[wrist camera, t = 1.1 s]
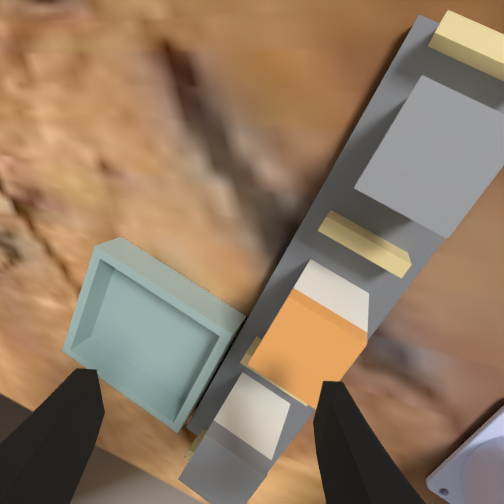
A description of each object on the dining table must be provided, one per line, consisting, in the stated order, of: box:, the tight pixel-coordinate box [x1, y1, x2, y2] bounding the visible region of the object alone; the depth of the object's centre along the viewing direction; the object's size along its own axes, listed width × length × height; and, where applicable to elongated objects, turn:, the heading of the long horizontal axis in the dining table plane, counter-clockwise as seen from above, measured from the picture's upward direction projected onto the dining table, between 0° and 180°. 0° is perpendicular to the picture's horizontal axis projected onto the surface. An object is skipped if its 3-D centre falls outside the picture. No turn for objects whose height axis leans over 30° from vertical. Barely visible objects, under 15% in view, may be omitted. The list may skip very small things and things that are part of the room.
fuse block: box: [185, 10, 504, 471], centre depth 20 cm, size 6×28×3 cm, turn 153°
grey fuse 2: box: [354, 75, 504, 239], centre depth 14 cm, size 4×4×6 cm
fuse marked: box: [247, 259, 369, 409], centre depth 18 cm, size 4×4×6 cm
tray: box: [62, 237, 247, 433], centre depth 24 cm, size 10×9×2 cm
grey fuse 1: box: [178, 372, 290, 504], centre depth 21 cm, size 4×4×6 cm
